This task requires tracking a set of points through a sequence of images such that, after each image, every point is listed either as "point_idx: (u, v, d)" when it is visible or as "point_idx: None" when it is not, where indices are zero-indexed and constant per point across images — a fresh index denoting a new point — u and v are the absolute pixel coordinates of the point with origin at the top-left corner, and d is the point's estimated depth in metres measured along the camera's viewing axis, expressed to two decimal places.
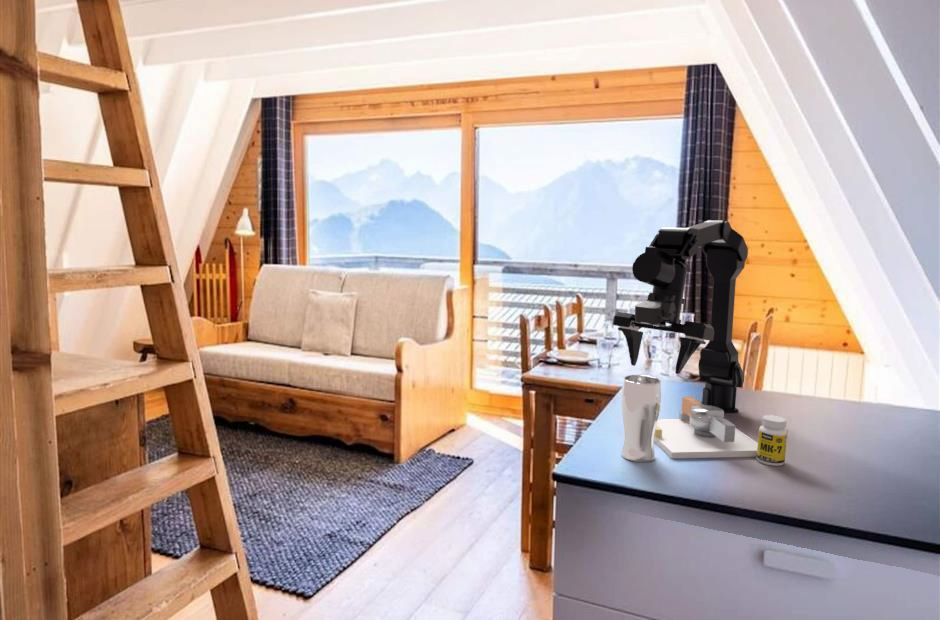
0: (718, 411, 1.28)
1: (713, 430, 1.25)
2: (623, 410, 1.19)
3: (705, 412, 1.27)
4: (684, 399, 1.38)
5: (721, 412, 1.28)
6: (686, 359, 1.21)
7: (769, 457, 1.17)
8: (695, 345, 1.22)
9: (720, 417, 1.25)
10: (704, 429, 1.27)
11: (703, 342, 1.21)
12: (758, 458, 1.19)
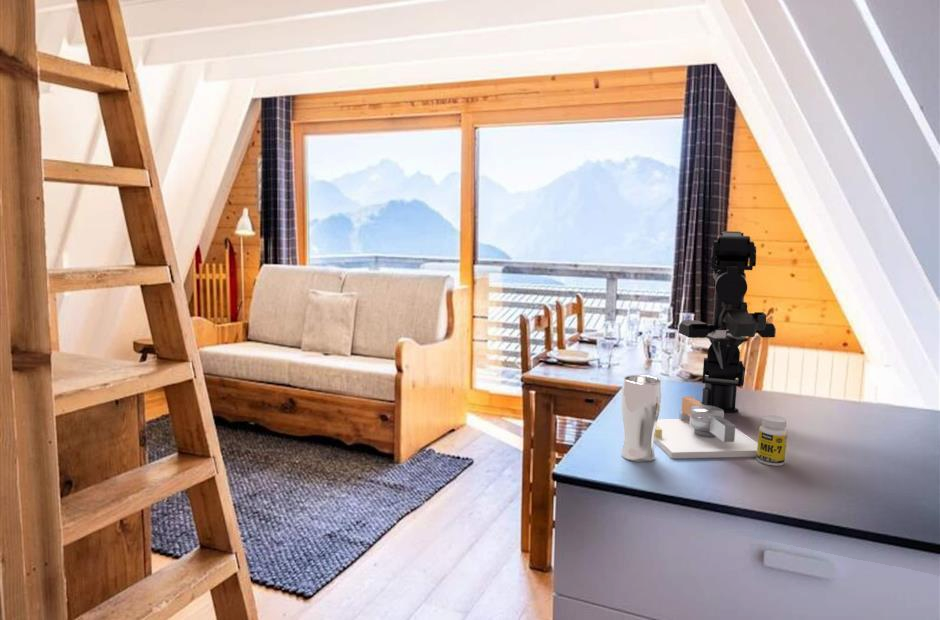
0: (718, 411, 1.28)
1: (713, 430, 1.25)
2: (623, 410, 1.19)
3: (705, 412, 1.27)
4: (684, 399, 1.38)
5: (721, 412, 1.28)
6: None
7: (769, 457, 1.17)
8: None
9: (720, 417, 1.25)
10: (704, 429, 1.27)
11: None
12: (758, 458, 1.19)
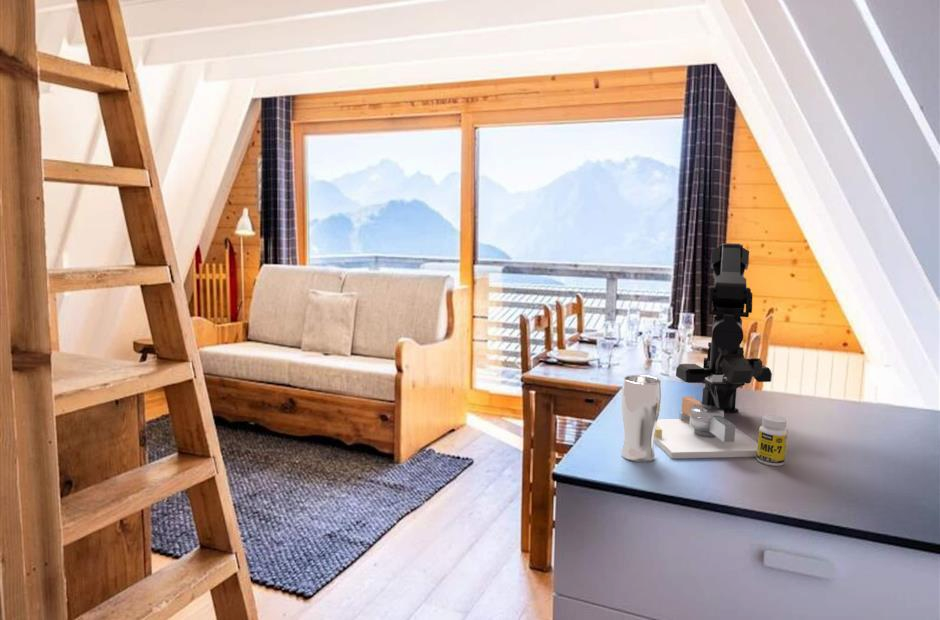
0: (718, 411, 1.28)
1: (713, 430, 1.25)
2: (623, 410, 1.19)
3: (705, 412, 1.27)
4: (684, 399, 1.38)
5: (721, 412, 1.28)
6: None
7: (769, 457, 1.17)
8: None
9: (720, 417, 1.25)
10: (704, 429, 1.27)
11: None
12: (758, 458, 1.19)
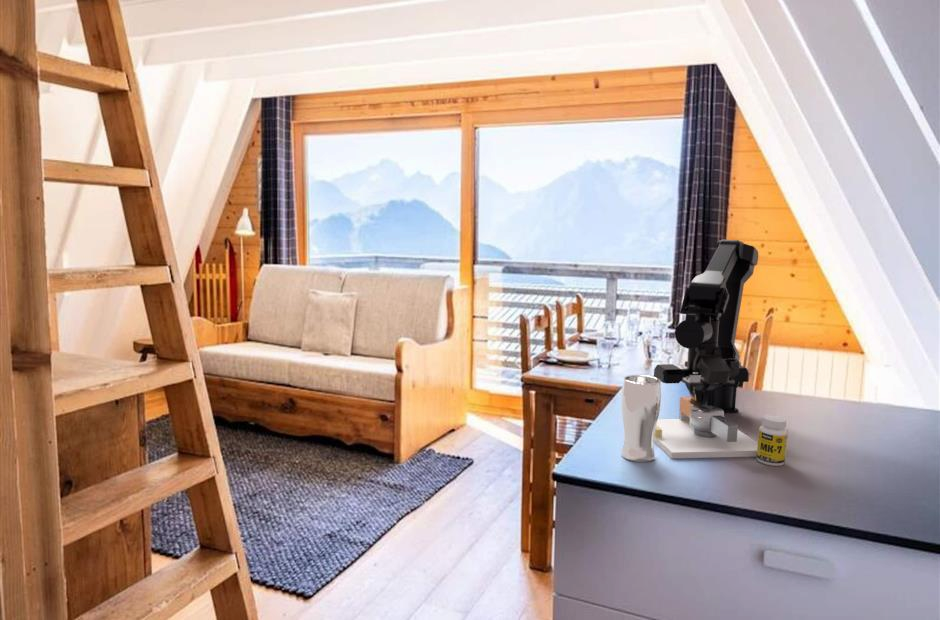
0: (718, 411, 1.28)
1: (715, 430, 1.24)
2: (623, 410, 1.19)
3: (706, 412, 1.27)
4: (682, 399, 1.38)
5: (721, 412, 1.28)
6: None
7: (769, 457, 1.17)
8: None
9: (721, 417, 1.25)
10: (705, 429, 1.27)
11: None
12: (758, 458, 1.19)
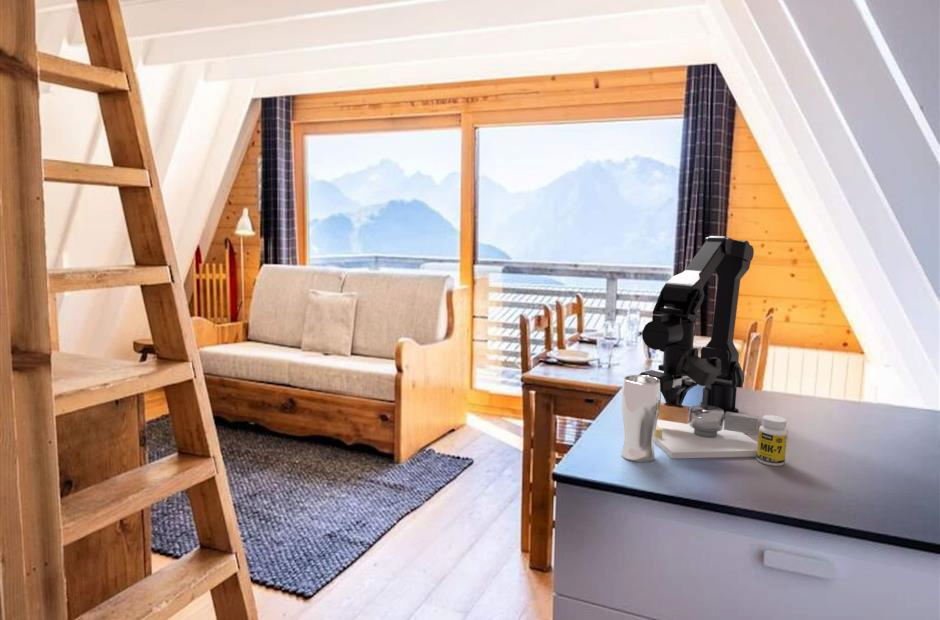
0: (714, 408, 1.30)
1: (733, 427, 1.26)
2: (623, 410, 1.19)
3: (715, 412, 1.27)
4: (663, 406, 1.32)
5: (718, 408, 1.30)
6: None
7: (769, 457, 1.17)
8: None
9: (732, 413, 1.28)
10: (719, 429, 1.27)
11: None
12: (758, 458, 1.19)
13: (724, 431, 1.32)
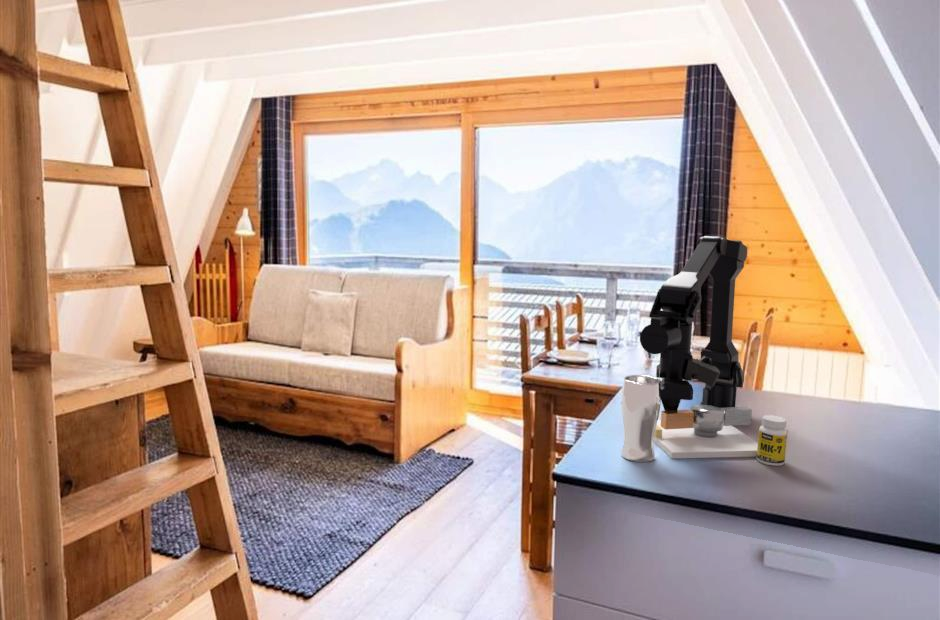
0: (707, 406, 1.31)
1: (732, 422, 1.30)
2: (623, 410, 1.19)
3: (718, 411, 1.29)
4: (671, 415, 1.27)
5: (709, 406, 1.32)
6: None
7: (769, 457, 1.17)
8: None
9: (726, 408, 1.31)
10: (722, 426, 1.29)
11: None
12: (758, 458, 1.19)
13: (724, 431, 1.32)
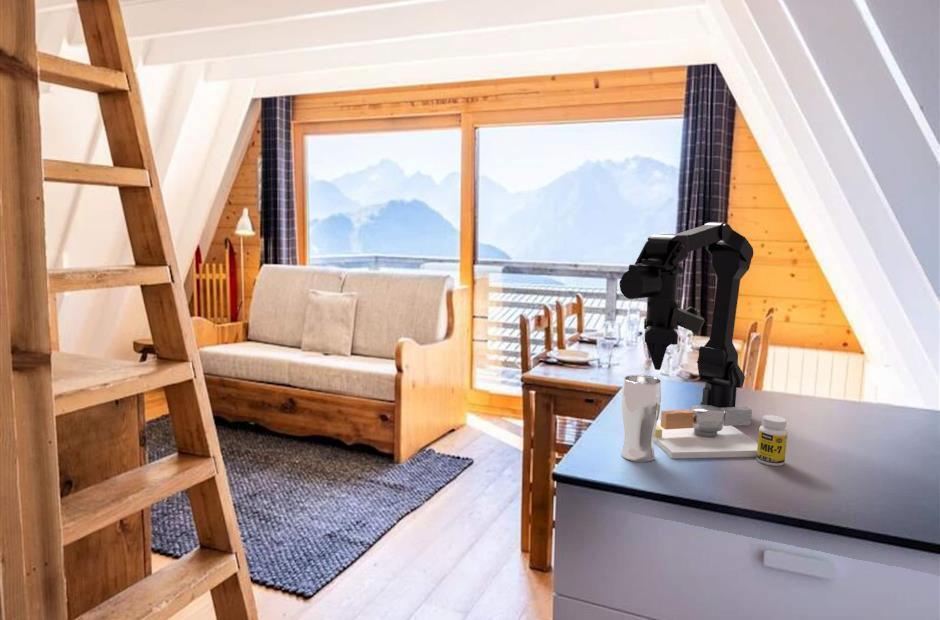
0: (707, 406, 1.31)
1: (732, 422, 1.30)
2: (623, 410, 1.19)
3: (718, 411, 1.29)
4: (671, 415, 1.27)
5: (709, 406, 1.32)
6: None
7: (769, 457, 1.17)
8: None
9: (726, 408, 1.31)
10: (722, 426, 1.29)
11: None
12: (758, 458, 1.19)
13: (724, 431, 1.32)
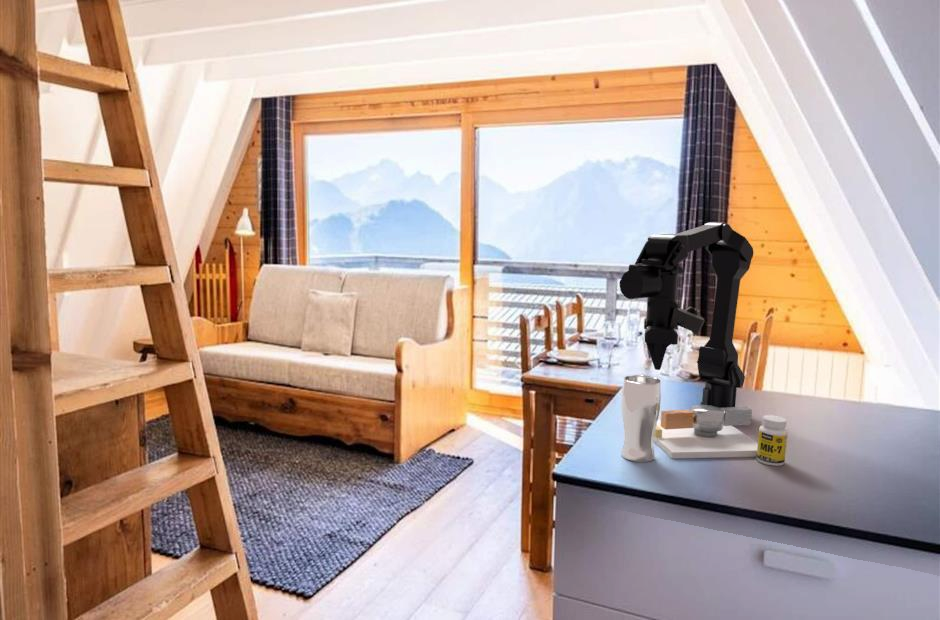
0: (707, 406, 1.31)
1: (732, 422, 1.30)
2: (623, 410, 1.19)
3: (718, 411, 1.29)
4: (671, 415, 1.27)
5: (709, 406, 1.32)
6: None
7: (769, 457, 1.17)
8: None
9: (726, 408, 1.31)
10: (722, 426, 1.29)
11: None
12: (758, 458, 1.19)
13: (724, 431, 1.32)
